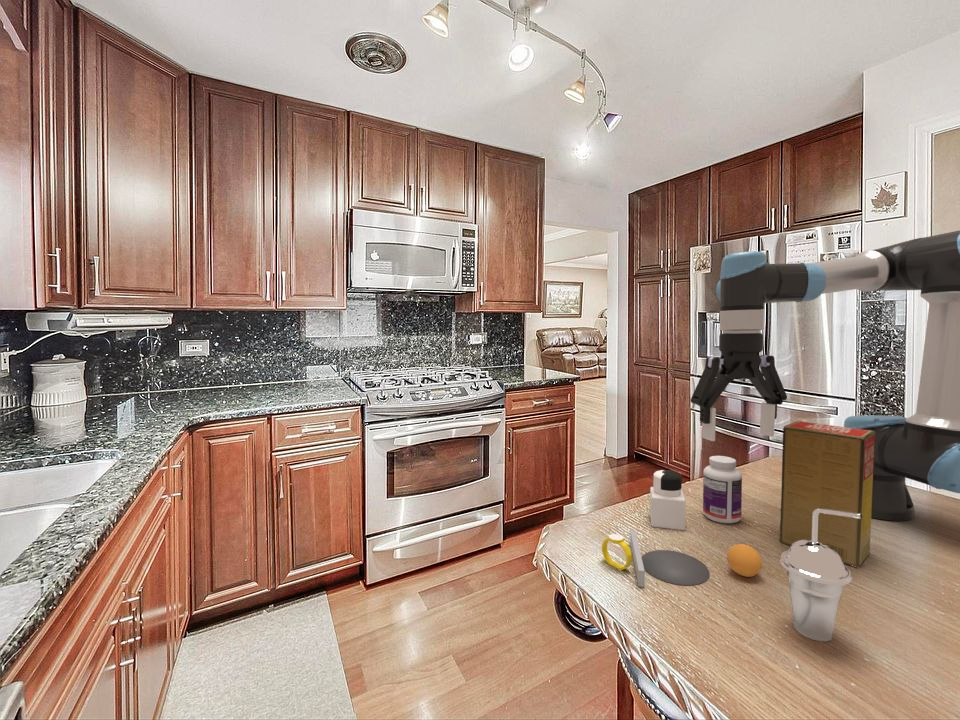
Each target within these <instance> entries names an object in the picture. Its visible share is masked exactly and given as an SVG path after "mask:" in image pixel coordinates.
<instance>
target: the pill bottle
mask: <svg viewBox="0 0 960 720" xmlns="http://www.w3.org/2000/svg"><path fill="white" fill-rule="evenodd" d="M736 467H737V460H736V459H735V458H733V457H729V456H726V455H712V456H709V465H707V466H706V467H704V468H703V475H702V477H703V484H702V487H703V488H702V495H703V497H702V513H703V514H704V516H705V517H706V518H708V519H709V520H711V521H713V522H716V523H720V524H735V523H739V522H740V521H741V520H742V498H743V497H742V494H743V491H742V490H743V489H742V488H743V475H742V473H741V471H740V470H739V469H737V468H736Z"/></svg>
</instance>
